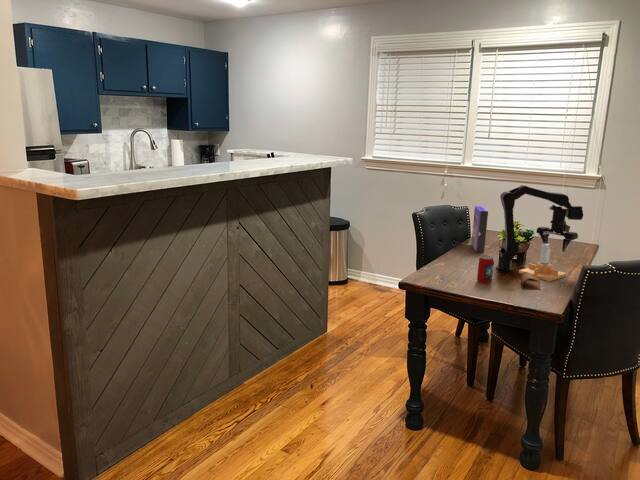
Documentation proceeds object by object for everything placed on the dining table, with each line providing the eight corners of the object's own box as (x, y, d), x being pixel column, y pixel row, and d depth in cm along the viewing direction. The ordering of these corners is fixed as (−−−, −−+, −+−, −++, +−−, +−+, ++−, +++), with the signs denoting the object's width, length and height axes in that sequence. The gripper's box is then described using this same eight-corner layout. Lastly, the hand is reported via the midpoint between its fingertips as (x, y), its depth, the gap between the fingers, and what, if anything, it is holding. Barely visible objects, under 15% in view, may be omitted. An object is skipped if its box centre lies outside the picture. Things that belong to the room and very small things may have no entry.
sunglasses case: (542, 290, 230) (535, 277, 229) (526, 296, 232) (519, 283, 232) (539, 279, 246) (533, 267, 246) (525, 285, 249) (519, 273, 249)
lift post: (545, 265, 251) (547, 245, 249) (538, 263, 254) (541, 244, 251) (548, 264, 253) (551, 244, 251) (542, 262, 256) (545, 243, 253)
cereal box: (471, 244, 315) (474, 205, 309) (479, 245, 314) (483, 206, 309) (475, 251, 298) (479, 210, 292) (484, 252, 297) (488, 211, 292)
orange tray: (549, 281, 244) (550, 269, 242) (518, 273, 256) (520, 261, 255) (566, 276, 253) (568, 264, 252) (536, 268, 266) (537, 257, 264)
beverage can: (489, 285, 235) (492, 260, 232) (475, 282, 238) (477, 257, 236) (493, 281, 241) (496, 256, 238) (479, 279, 244) (481, 254, 241)
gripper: (585, 220, 251) (581, 251, 254) (549, 214, 265) (545, 244, 269) (573, 222, 244) (569, 254, 248) (537, 216, 259) (533, 246, 262)
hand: (554, 249), depth 257 cm, fingers open, 9 cm apart
